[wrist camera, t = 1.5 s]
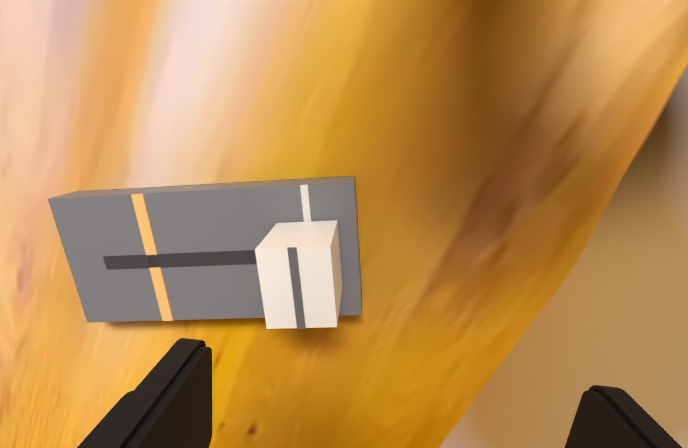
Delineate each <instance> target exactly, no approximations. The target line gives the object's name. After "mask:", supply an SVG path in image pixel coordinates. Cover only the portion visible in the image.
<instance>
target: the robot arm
mask: <svg viewBox="0 0 688 448" xmlns="http://www.w3.org/2000/svg"><path fill="white" fill-rule="evenodd" d="M211 437H212V350H211V348H210V347H206V344H205V342H204V341H203V340H194V339H185V338H181V339H179V340H178V341H177V342H176V343H175V344H174V345H173V346H172V347H171V349H170V350H169V351H168V352H167V353H166V354H165V355H164V357H163V358H162V359H161V360H160V361H159V362H158V363H157V365H156V366H155V367H154V368H153V369H152V370H151V372H150V373H149V374H148V375H147V376H146V377H145V378H144V380H143V381H142V382H141V383H140V384H139V385H138V386H137V388H136V389H135V390H134V391H130V392H128V393H126V394H125V395H124V396H123V397H122V398H121V399H120V400H119V401H118V402H117V404H116V405H115V406H114V407H113V408H112V409H111V410H110V411H109V412H108V414H107V415H106V416H105V417H104V418H103V419H102V420H101V421H100V423H99V424H98V425H97V426H96V427H95V428H94V429H93V430H92V432H91V433H90V434H89V435H88V436H87V437H86V438H85V439H84V440H83V442H82V443H81V444H80V445H79V446H78V447H77V448H209V445H210V442H211ZM565 448H682V447H681V446H680V445H679V444H678V443H677V442H676V441H675V440H674V439H673V438H672V437H670V435H669V434H668V433H667V432H666V431H665V430H664V429H663V428H662V427H661V426H660V425H659V424H658V423H657V422H656V421H655V420H654V419H653V418H652V417H650V415H649V414H648V413H647V412H646V411H645V410H643V408H642V407H640V405H638V404H637V403H636V402H635V401H634V400H633V399H632V398H631V397H630V396H629V395H628V394H627V393H626V392H625V391H624V390H622V389H620V388H616V387H607V386H598V385H594V386H592V387H590V389H589V390H588V391H585V392H584V393H583V395H582V398H581V401H580V403H579V406H578V410H577V413H576V415H575V418H574V422H573V424H572V427H571V430H570V434H569V436H568V439H567V442H566V445H565Z"/></svg>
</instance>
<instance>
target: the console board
mask: <svg viewBox="0 0 688 448" xmlns="http://www.w3.org/2000/svg"><path fill="white" fill-rule="evenodd" d="M48 201H49V204H50V207H51V210H52V213H53V216H54V219H55V223H56V226H57V229H58V232H59V235H60V238H61V241H62V244H63V247H64V251H65V254H66V257H67V260H68V263H69V266H70V269H71V272H72V275H73V279H74V282H75V285H76V288H77V291H78V294H79V297H80V300H81V304H82V307H83V310H84V313H85V316H86V319H87V322H121V321H159V320H162V321H173V320H197V319H236V318H265V314H264V308H263V301H262V294H261V288H260V281H259V275H258V268H257V261H256V255H255V249H256V247H257V246H258V245H259V244H260V243H261V241H262V240H263V239H264V238H265V237H266V236H267V234H268V233H269V232H270V231H271V230H272V228H273V227H274V226H275V225H276V224H277V223H288V222H309V221H330V220H338V233H339V247H340V260H341V273H342V294H341V302H340V309H339V316H350V315H362V288H361V270H360V253H359V236H358V218H357V201H356V183H355V176H341V177H324V178H306V179H289V180H271V181H254V182H236V183H219V184H201V185H183V186H166V187H148V188H131V189H113V190H96V191H78V192H73V193H69V194H65V195H61V196H57V197H53V198H49V199H48Z"/></svg>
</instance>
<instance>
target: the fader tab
mask: <svg viewBox="0 0 688 448" xmlns="http://www.w3.org/2000/svg"><path fill="white" fill-rule="evenodd" d="M255 255H256V261H257V268H258V275H259V281H260V288H261V294H262V301H263V308H264V314H265V321H266V328H267V329H279V328H297V330H298V329H306V328H322V327H337V324H338V316H339V309H340V302H341V294H342V273H341V260H340V247H339V233H338V220H330V221H309V222H288V223H277V224H276V225H275V226H274V227H273V228H272V230H271V231H270V232H269V233H268V234H267V236H266V237H265V238H264V239H263V240H262V241H261V243H260V244H259V245H258V246H257V247H256V249H255Z"/></svg>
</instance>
